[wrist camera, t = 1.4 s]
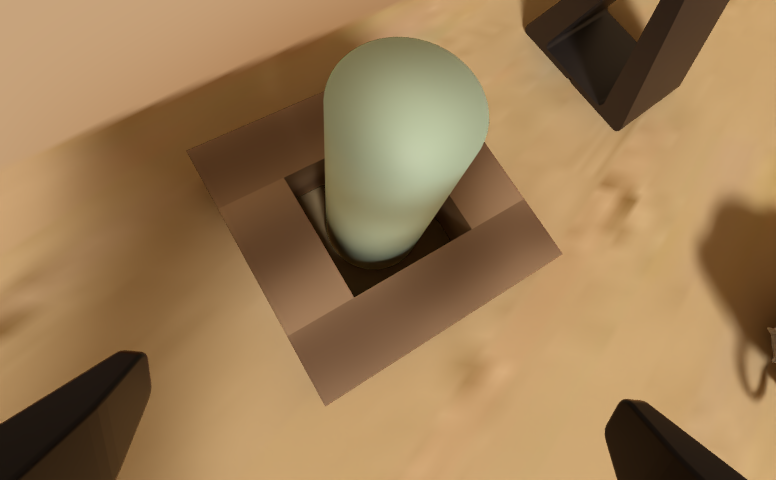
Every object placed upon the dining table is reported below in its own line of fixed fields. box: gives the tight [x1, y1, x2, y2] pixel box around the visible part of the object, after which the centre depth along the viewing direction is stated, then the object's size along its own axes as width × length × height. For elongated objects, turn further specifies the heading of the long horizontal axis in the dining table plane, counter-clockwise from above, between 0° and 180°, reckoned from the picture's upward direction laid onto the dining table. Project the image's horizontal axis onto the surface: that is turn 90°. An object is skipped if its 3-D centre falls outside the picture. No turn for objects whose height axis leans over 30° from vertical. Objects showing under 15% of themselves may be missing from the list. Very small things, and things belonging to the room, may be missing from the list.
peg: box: [323, 37, 489, 270], centre depth 18 cm, size 5×5×11 cm
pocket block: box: [187, 91, 562, 406], centre depth 22 cm, size 13×13×3 cm
